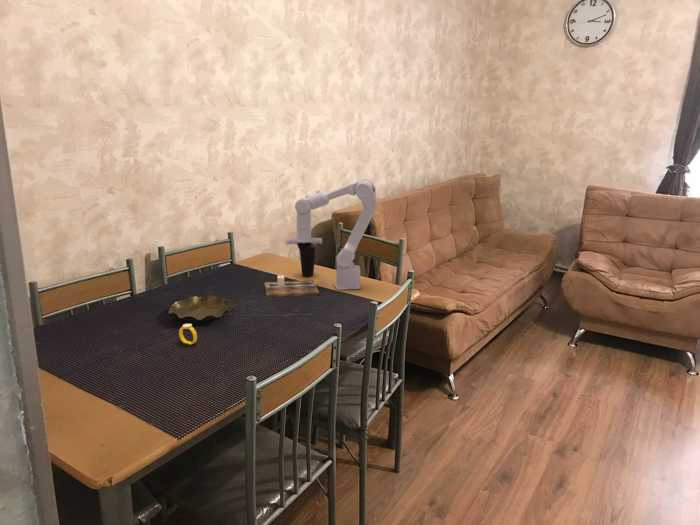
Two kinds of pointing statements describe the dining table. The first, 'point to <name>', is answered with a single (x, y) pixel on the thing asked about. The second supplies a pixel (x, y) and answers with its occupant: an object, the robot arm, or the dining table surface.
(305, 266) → the drinking cup
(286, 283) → the console
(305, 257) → the robot arm
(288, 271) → the dining table surface
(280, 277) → the fader tab
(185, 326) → the gold ring
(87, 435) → the dining table surface
